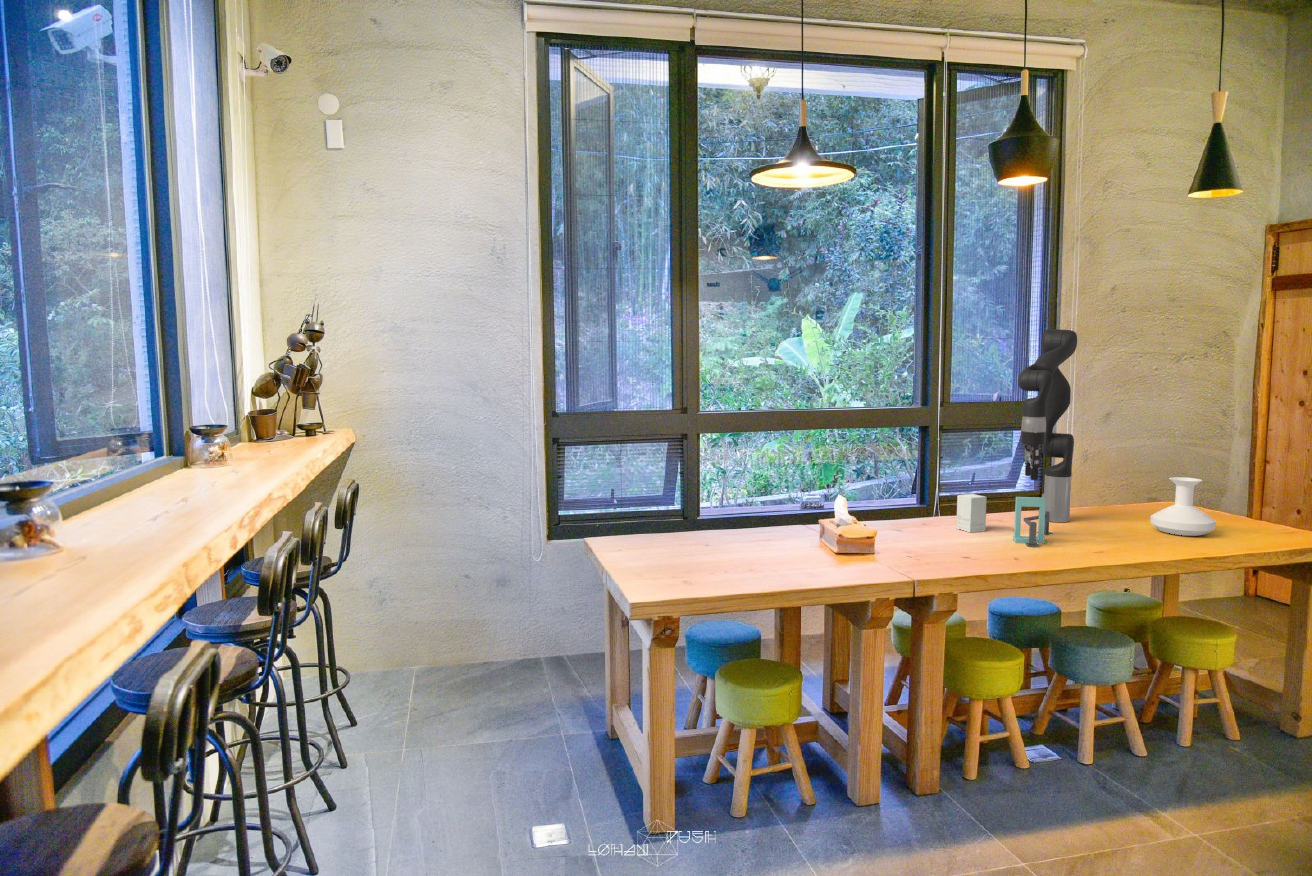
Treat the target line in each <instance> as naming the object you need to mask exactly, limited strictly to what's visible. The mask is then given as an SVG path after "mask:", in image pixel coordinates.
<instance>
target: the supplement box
mask: <svg viewBox="0 0 1312 876" xmlns="http://www.w3.org/2000/svg"><path fill="white" fill-rule="evenodd" d="M956 499H957V500H956V529H957V530H959V529H961V530H960V531H962V530H964V531H963V532H966V531H967V533H981V531H982V532H986V529H987V528H986V526H987V496H984V495H979V494H975V493H967V494H958V495H957V498H956Z"/></svg>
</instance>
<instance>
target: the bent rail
mask: <svg viewBox="0 0 1312 876" xmlns="http://www.w3.org/2000/svg"><path fill="white" fill-rule="evenodd" d="M1049 516H1050V512H1047V511H1045V526H1044V536H1046V535H1047V536H1050V535H1049V534H1052V535H1053V532H1050V521H1049ZM1037 520H1039V514H1038V515H1033V516H1028V517H1023V522H1024V523H1025V524H1026V525H1027V526H1028V527H1029V530H1028V536H1029V543H1024V544H1025V546H1026V547H1027V548H1040V544H1037V543H1036V537H1037V533H1038V531H1037V528H1038V525H1037V523H1038V522H1036V521H1037Z"/></svg>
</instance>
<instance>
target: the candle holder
mask: <svg viewBox="0 0 1312 876" xmlns="http://www.w3.org/2000/svg"><path fill="white" fill-rule="evenodd" d="M1168 479H1169V480H1170V481H1171V482H1172V483H1173V484H1175V496H1174V497H1175V498H1174V504H1172V505H1170V506H1168V507H1167V506H1166V507H1165V508H1163V509H1160V510H1158V511H1156V512H1155V513H1153V514H1152V515H1150V520H1149V523H1150V524H1151V525H1153V527H1155V528H1156V529H1157V530H1158V531H1160V532H1162V533H1163V532H1164V533H1166V534H1169V533H1170V535H1174V534H1175V536H1181V535H1182V536H1184V537H1196V536H1198V537H1199V536H1204V535H1207V534H1209V533H1210V532H1212V531H1214V530H1215V529H1216V528H1217V521H1216V520H1215V519H1214V518H1212V517H1211V515H1210V514H1207V513H1205V512H1204V511H1202V510H1201V509H1199V508H1197V507H1195V506H1194V493H1195V486H1197V485H1198V484H1200V483H1201V482H1203V479H1200V478H1194V477H1186V476H1185V477H1183V476H1180V477H1179V476H1176V477H1175V476H1173V477H1169V478H1168ZM1182 536H1181V537H1182Z"/></svg>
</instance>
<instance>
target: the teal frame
mask: <svg viewBox="0 0 1312 876" xmlns="http://www.w3.org/2000/svg"><path fill="white" fill-rule="evenodd" d="M1045 505H1046V498H1042V496H1041V497H1038V496H1037V497H1036V496H1035V497H1034V496H1032V497H1031V496H1015V506H1014V507H1015V508H1014V530H1013V531H1014V532H1013V535H1012V537H1013V538H1012V541H1013V542H1014V543H1015V544H1025V543H1029V535H1028V536H1027V535H1025V536H1024V535H1023V536H1022V535H1021V527H1022V526H1021V524H1022V507H1024V508H1025V507H1027V508H1038V515H1039V519H1037V520H1038V521H1037V523H1038V525H1037V532H1038V534H1037V536H1036V543H1042V544H1041V545H1045V544H1046V540H1045V535H1044V526H1045ZM1044 543H1045V544H1044Z"/></svg>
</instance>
